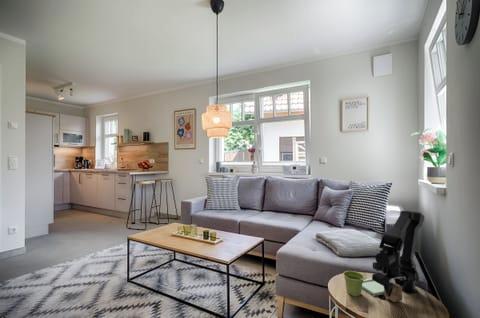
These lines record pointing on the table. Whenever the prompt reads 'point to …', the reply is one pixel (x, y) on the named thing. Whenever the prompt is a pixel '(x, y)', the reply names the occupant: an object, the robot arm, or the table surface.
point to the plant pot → (353, 282)
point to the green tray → (372, 287)
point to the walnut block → (395, 293)
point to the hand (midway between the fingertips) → (393, 295)
